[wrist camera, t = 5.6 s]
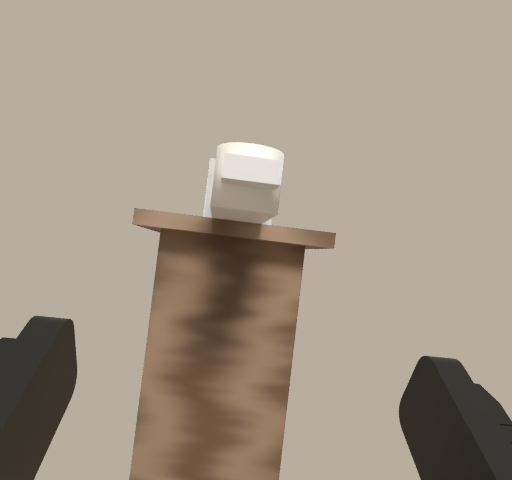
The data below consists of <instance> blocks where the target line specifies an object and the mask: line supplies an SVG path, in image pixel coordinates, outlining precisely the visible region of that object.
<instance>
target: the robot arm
mask: <svg viewBox="0 0 512 480" xmlns="http://www.w3.org/2000/svg"><path fill="white" fill-rule="evenodd" d="M76 378H77V360H76V347H75V334H74V324H73V321H72V320H71V319H64V318H63V319H62V318H54V317H43V316H34V317H32V318H31V319H30V320H29V322H28V323H27V324H26V326H25V327H24V329H23V330H22V331H21V333H20V334H19V336H18V337H17V338H16V339H14V338H1V339H0V480H34V478H35V476H36V474H37V471H38V469H39V467H40V465H41V462H42V460H43V458H44V456H45V454H46V452H47V450H48V447H49V445H50V443H51V441H52V439H53V436H54V434H55V432H56V430H57V428H58V426H59V424H60V421H61V419H62V417H63V415H64V413H65V410H66V408H67V406H68V404H69V402H70V399H71V397H72V394H73V391H74V388H75V384H76ZM399 419H400V424H401V428H402V431H403V433H404V436H405V439H406V441H407V444H408V446H409V449H410V452H411V455H412V457H413V460H414V462H415V465H416V468H417V470H418V473H419V476H420V478H421V480H512V421H511V420H510V418H509V417H508V415H507V414H506V412H505V411H504V409H503V407H502V406H501V405H500V403H499V402H498V401H497V400H496V399H495V398H494V397H492V396H491V395H490V394H489V393H488V392H487V391H486V390H485V389H484V388H483V387H482V386H481V385H480V384H474V383H473V381H472V380H471V378H470V376H469V375H468V373H467V372H466V370H465V368H464V367H463V365H462V364H461V363H460V362H459V361H458V360H456V359H451V358H441V357H430V356H423V357H421V358H420V360H419V361H418V363H417V365H416V367H415V370H414V372H413V374H412V376H411V378H410V380H409V383H408V385H407V387H406V389H405V391H404V394H403V396H402V398H401V402H400V406H399Z"/></svg>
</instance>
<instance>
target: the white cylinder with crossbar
mask: <svg viewBox="0 0 512 480" xmlns="http://www.w3.org/2000/svg"><path fill="white" fill-rule="evenodd" d="M283 162H284V154H283V153H282V152H281V151H279V150H277V149H274V148H271V147H268V146H264V145H259V144H252V143H240V142H239V143H237V142H233V143H224V144H221V145H219V146H218V147H217V156H216V159H214V158H210V164H209V172H208V180H207V188H206V196H205V204H204V212H203V217H209V218H217V219H225V220H233V221H241V222H249V223H257V224H265V225H271V221H272V218H273V217H274V216H276V215H277V214H278V206H279V197H280V189H281V180H282V172H283Z"/></svg>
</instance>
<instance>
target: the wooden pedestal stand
mask: <svg viewBox="0 0 512 480" xmlns="http://www.w3.org/2000/svg"><path fill="white" fill-rule="evenodd" d="M133 224H134V225H137V226H141V227H144V228H147V229H151V230H154V231H157V232H161V233H160V241H159V248H158V256H157V264H156V272H155V280H154V288H153V296H152V304H151V313H150V320H149V329H148V337H147V344H146V352H145V359H144V368H143V376H142V383H141V392H140V399H139V408H138V415H137V423H136V431H135V439H134V447H133V455H132V464H131V472H130V479H129V480H279V473H280V464H281V455H282V446H283V438H284V429H285V419H286V411H287V402H288V393H289V385H290V376H291V367H292V358H293V349H294V341H295V332H296V322H297V313H298V304H299V296H300V288H301V279H302V270H303V261H304V252H305V249H327V248H328V249H329V248H334V244H335V235H336V233H330V232H321V231H313V230H304V229H297V228H289V227H281V226H273V225H265V224H257V223H249V222H241V221H233V220H225V219H217V218H209V217H200V216H193V215H185V214H177V213H169V212H161V211H153V210H145V209H136V208H135V209H134V216H133Z"/></svg>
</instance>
